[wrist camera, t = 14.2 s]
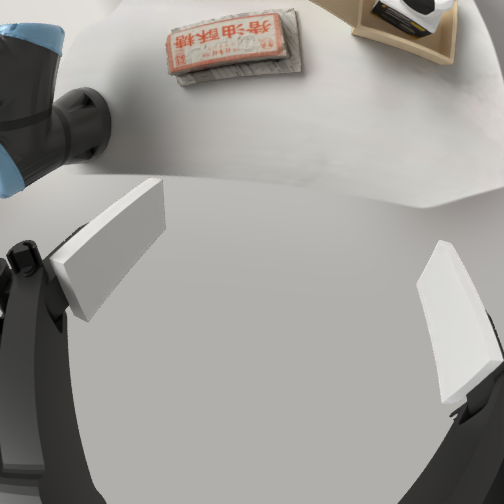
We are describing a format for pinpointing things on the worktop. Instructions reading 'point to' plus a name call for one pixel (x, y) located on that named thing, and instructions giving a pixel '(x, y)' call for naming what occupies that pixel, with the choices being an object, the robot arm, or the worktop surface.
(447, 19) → the mailer
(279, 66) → the packaged product
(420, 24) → the medicine bottle
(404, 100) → the worktop surface
